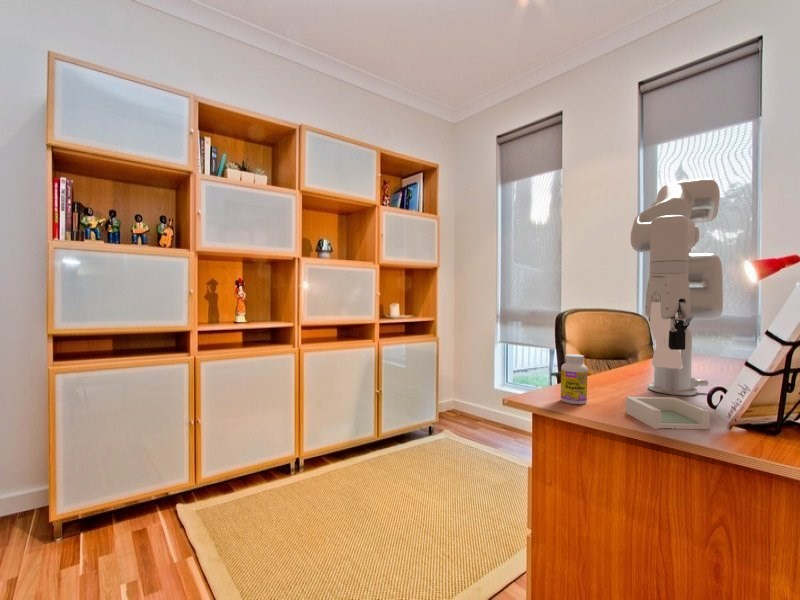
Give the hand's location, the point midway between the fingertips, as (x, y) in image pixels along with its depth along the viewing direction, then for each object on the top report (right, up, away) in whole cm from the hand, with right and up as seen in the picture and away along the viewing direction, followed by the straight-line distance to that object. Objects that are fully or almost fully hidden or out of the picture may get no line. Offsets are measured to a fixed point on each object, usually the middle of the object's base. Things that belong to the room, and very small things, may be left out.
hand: (667, 346), depth 96 cm
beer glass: (0, -5, 0) cm, 5 cm away
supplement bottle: (-14, -17, +17) cm, 28 cm away
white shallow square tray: (0, -17, +1) cm, 17 cm away
